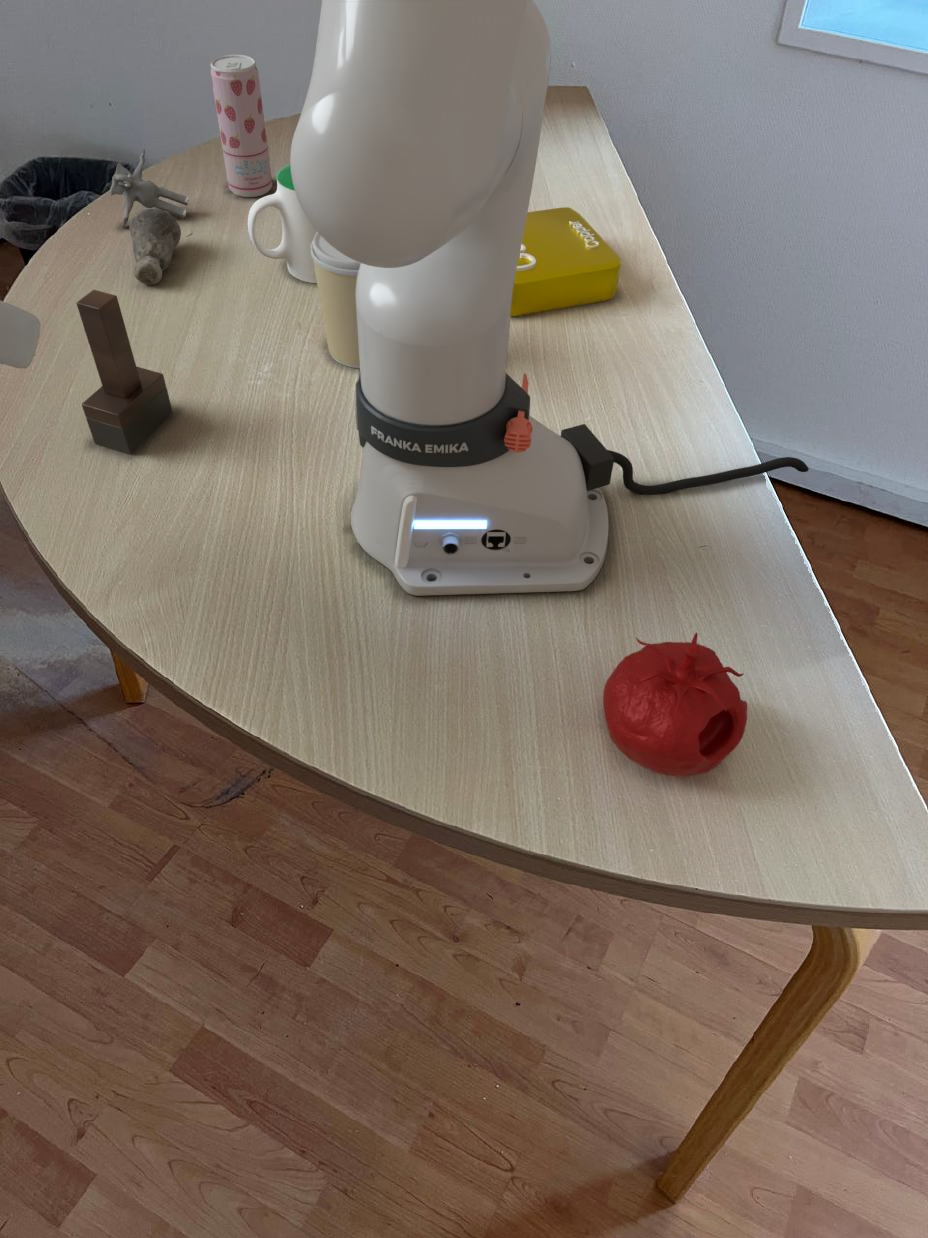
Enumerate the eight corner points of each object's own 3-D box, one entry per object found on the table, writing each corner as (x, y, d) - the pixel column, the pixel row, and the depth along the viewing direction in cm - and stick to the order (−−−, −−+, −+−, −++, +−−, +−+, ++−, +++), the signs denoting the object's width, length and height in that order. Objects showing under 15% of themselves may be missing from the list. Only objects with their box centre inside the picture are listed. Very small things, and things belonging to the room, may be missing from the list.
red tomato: (579, 767, 65) (597, 688, 58) (615, 663, 71) (636, 581, 64) (719, 814, 63) (755, 738, 56) (743, 703, 69) (779, 622, 62)
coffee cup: (427, 348, 99) (426, 239, 90) (362, 384, 94) (355, 274, 85) (367, 314, 103) (361, 207, 94) (302, 347, 98) (289, 238, 89)
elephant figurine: (176, 239, 113) (99, 211, 110) (177, 254, 118) (104, 228, 116) (198, 160, 113) (122, 130, 110) (198, 180, 119) (125, 152, 116)
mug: (268, 296, 105) (255, 205, 97) (246, 263, 109) (231, 173, 101) (366, 274, 108) (361, 184, 100) (341, 243, 113) (334, 155, 105)
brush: (138, 402, 91) (102, 274, 81) (173, 412, 90) (140, 284, 80) (94, 443, 87) (50, 313, 77) (130, 454, 86) (90, 324, 76)
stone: (162, 298, 105) (201, 238, 104) (118, 268, 102) (158, 205, 101) (147, 280, 113) (182, 223, 111) (106, 251, 109) (142, 193, 108)
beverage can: (238, 201, 119) (218, 73, 108) (222, 183, 122) (201, 57, 111) (279, 192, 121) (264, 66, 110) (263, 175, 124) (246, 50, 113)
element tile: (622, 299, 106) (629, 259, 103) (500, 320, 103) (503, 280, 99) (568, 238, 116) (573, 200, 112) (455, 255, 112) (456, 216, 108)
